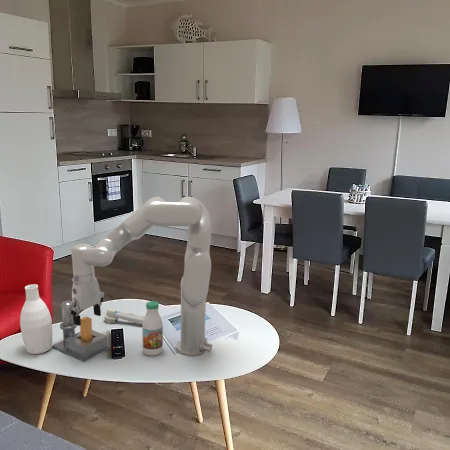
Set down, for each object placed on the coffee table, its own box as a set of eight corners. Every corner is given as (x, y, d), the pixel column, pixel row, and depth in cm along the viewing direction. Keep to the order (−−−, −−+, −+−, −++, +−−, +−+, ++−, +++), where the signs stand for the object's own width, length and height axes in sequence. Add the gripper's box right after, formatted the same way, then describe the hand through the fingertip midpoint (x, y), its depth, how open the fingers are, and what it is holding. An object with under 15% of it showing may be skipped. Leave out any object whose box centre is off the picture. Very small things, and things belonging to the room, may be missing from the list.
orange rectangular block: (92, 347, 176) (91, 318, 173) (86, 350, 174) (84, 321, 171) (87, 345, 178) (86, 316, 175) (81, 348, 175) (79, 319, 173)
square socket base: (110, 347, 178) (109, 307, 174) (84, 362, 168) (82, 319, 164) (77, 334, 188) (75, 295, 184) (50, 346, 178) (47, 306, 174)
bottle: (17, 353, 172) (7, 290, 166) (37, 339, 182) (29, 279, 176) (41, 357, 169) (33, 293, 163) (61, 343, 179) (53, 282, 173)
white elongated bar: (157, 322, 193) (103, 308, 197) (155, 336, 195) (101, 322, 199) (161, 317, 198) (108, 303, 202) (159, 330, 200) (106, 317, 204)
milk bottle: (138, 351, 177) (137, 302, 172) (154, 344, 182) (154, 297, 177) (150, 358, 172) (150, 309, 167) (166, 351, 177) (166, 303, 172)
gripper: (72, 286, 160) (76, 331, 164) (108, 272, 174) (111, 313, 178) (58, 282, 164) (62, 326, 168) (95, 268, 178) (98, 309, 182)
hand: (87, 319), depth 173 cm, fingers open, 9 cm apart
